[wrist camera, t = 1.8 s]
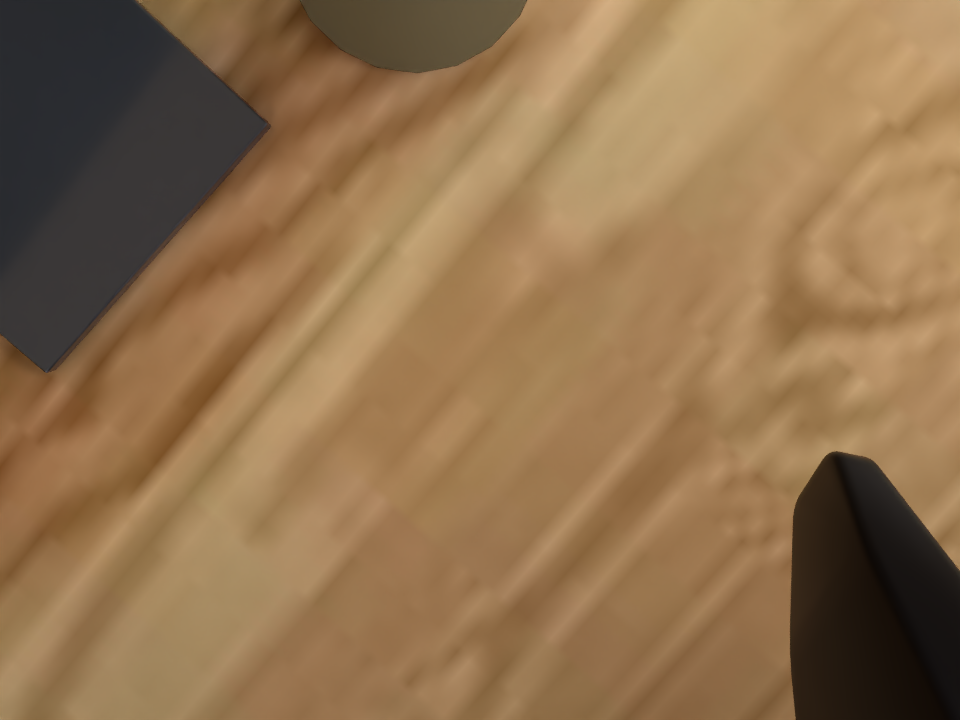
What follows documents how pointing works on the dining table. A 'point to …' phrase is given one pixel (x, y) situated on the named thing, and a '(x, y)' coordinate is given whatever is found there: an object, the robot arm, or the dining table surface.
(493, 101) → the dining table surface
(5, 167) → the slate coaster
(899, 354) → the dining table surface
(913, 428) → the dining table surface
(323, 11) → the brown game pawn
